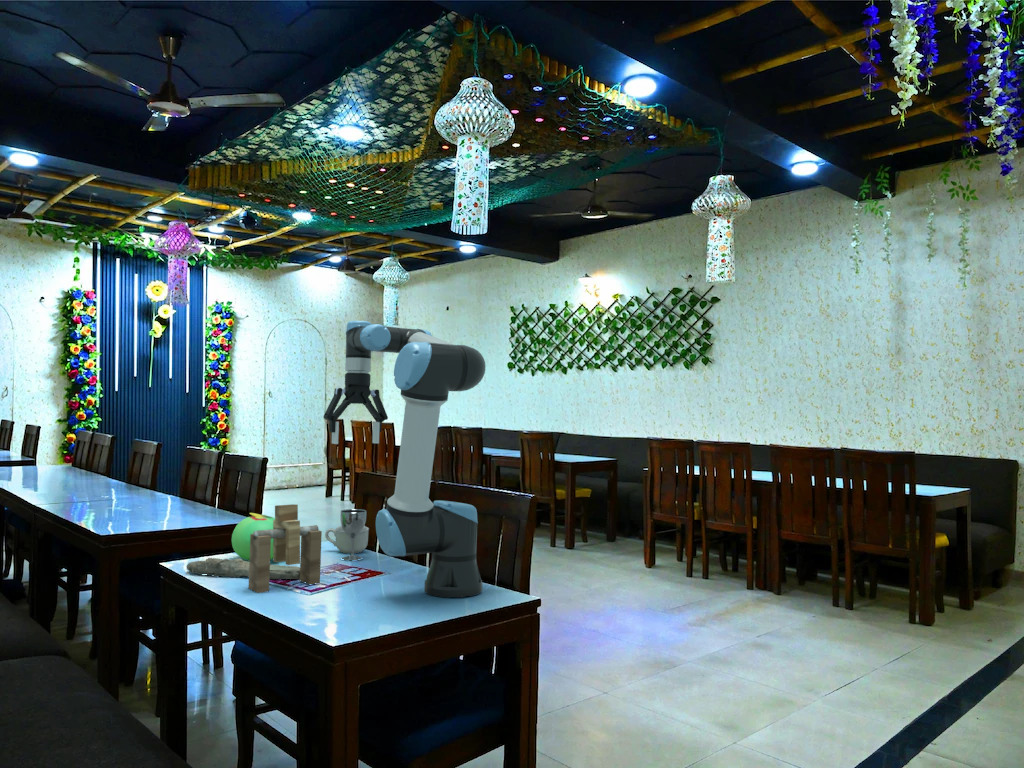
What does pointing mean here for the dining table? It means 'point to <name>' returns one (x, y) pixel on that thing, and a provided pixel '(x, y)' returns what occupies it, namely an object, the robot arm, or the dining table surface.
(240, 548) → the green bird toy
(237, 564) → the elongated rock
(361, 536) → the teacup
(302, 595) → the dining table surface
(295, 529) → the oak hanger
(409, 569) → the dining table surface
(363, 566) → the dining table surface
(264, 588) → the rod stand
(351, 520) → the wine glass
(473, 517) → the robot arm
